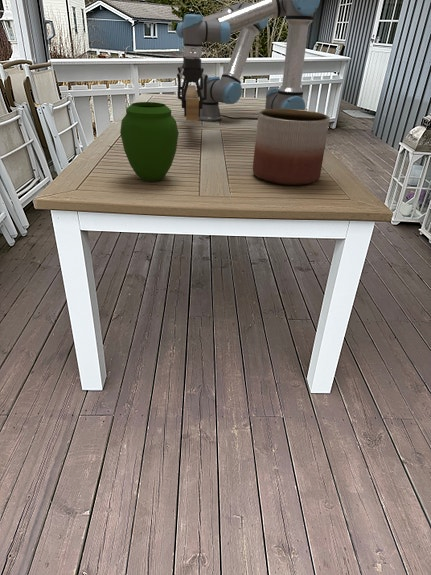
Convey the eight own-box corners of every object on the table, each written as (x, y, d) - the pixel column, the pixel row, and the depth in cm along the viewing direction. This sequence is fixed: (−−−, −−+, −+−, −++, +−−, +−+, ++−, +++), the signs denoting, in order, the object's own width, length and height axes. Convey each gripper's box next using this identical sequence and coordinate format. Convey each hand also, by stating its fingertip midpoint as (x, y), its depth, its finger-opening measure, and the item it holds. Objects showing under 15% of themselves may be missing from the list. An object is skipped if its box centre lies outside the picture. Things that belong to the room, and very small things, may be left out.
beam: (185, 102, 225) (185, 84, 220) (195, 102, 225) (195, 85, 221) (186, 120, 179) (186, 98, 174) (198, 121, 179) (199, 99, 175)
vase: (131, 189, 135) (125, 110, 122) (118, 172, 150) (112, 100, 137) (186, 184, 142) (187, 109, 129) (169, 168, 157) (167, 99, 144)
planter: (329, 187, 147) (342, 121, 135) (261, 187, 143) (268, 120, 131) (305, 166, 168) (314, 109, 156) (245, 167, 164) (250, 107, 152)
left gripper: (172, 53, 202) (172, 104, 214) (209, 55, 204) (208, 105, 216) (172, 52, 208) (172, 102, 220) (208, 54, 210) (207, 103, 222)
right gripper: (170, 57, 169) (171, 117, 182) (215, 59, 171) (212, 118, 183) (170, 56, 175) (171, 114, 188) (213, 58, 177) (211, 115, 190)
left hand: (190, 103), depth 218 cm, fingers closed on beam, 6 cm apart
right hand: (191, 116), depth 186 cm, fingers closed on beam, 5 cm apart
